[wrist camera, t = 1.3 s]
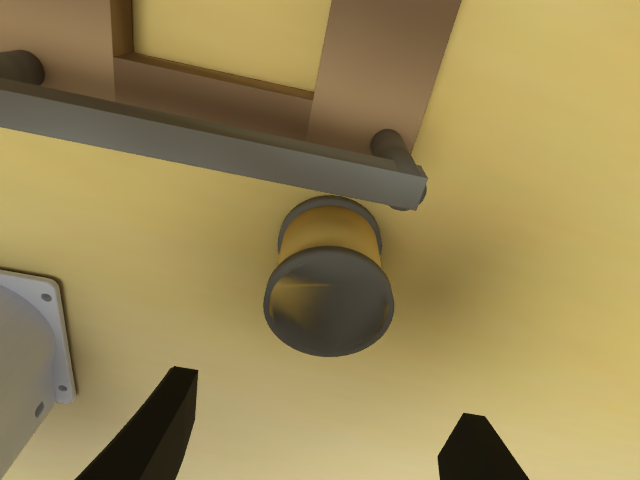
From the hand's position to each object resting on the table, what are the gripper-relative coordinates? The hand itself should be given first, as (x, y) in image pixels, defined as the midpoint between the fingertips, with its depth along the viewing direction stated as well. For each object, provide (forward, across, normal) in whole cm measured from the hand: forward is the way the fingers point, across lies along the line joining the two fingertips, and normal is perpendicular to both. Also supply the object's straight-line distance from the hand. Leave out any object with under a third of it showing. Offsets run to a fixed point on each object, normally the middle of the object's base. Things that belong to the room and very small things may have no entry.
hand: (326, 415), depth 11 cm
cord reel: (+9, 0, 0) cm, 9 cm away
